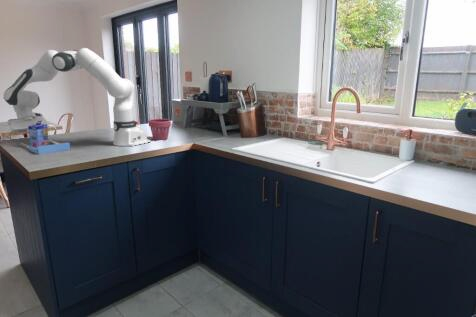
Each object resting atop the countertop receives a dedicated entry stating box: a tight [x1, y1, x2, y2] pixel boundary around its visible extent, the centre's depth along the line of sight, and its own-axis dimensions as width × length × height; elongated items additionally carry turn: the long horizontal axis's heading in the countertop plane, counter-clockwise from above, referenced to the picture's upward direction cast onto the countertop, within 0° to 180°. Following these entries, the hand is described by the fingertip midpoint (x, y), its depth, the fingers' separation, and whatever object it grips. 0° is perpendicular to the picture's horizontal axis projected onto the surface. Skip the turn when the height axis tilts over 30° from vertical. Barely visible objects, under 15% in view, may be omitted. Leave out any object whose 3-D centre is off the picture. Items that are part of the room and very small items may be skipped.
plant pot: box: [148, 118, 172, 141], centre depth 215 cm, size 14×14×13 cm
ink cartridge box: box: [28, 121, 50, 148], centre depth 191 cm, size 10×6×14 cm, turn 177°
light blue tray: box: [19, 139, 71, 155], centre depth 187 cm, size 16×31×4 cm, turn 47°
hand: (33, 135), depth 199 cm, fingers closed
